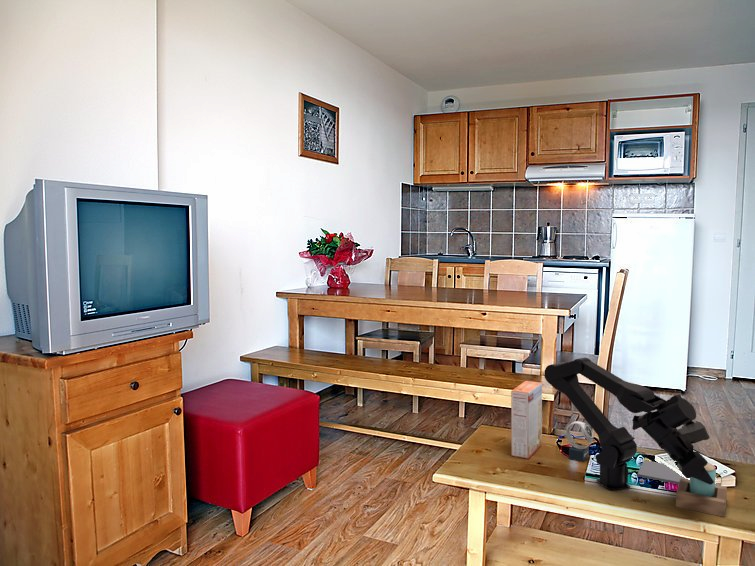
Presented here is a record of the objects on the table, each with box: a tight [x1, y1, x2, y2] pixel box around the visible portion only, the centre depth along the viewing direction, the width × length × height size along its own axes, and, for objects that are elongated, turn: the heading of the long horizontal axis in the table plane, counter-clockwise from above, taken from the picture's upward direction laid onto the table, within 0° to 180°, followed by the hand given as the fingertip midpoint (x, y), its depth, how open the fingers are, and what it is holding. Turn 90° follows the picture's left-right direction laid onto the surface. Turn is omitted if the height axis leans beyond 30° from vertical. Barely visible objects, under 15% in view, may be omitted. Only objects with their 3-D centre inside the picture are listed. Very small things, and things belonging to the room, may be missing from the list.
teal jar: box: [689, 462, 717, 498], centre depth 150 cm, size 6×6×10 cm
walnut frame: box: [675, 478, 728, 518], centre depth 150 cm, size 11×11×4 cm
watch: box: [565, 420, 595, 463], centre depth 181 cm, size 6×8×11 cm
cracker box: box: [510, 380, 543, 460], centre depth 187 cm, size 14×6×21 cm, turn 148°
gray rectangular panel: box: [637, 459, 722, 486], centre depth 166 cm, size 20×12×1 cm, turn 58°
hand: (708, 478), depth 150 cm, fingers closed on teal jar, 6 cm apart
